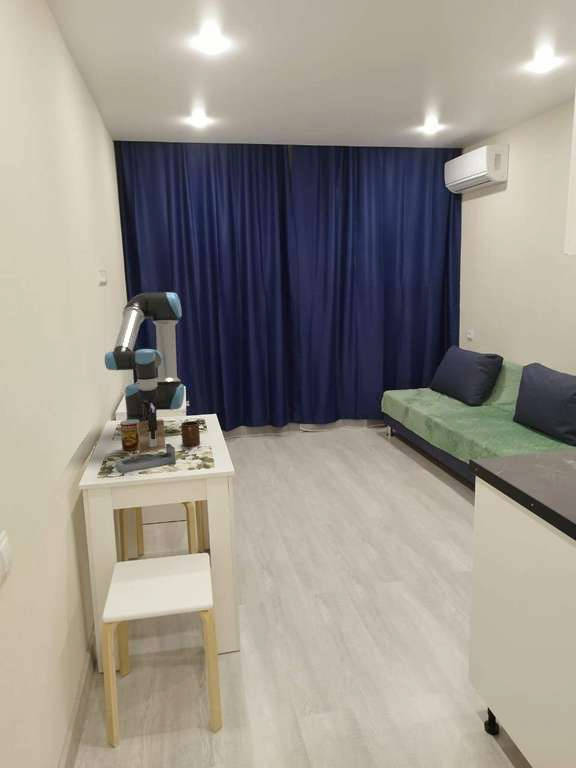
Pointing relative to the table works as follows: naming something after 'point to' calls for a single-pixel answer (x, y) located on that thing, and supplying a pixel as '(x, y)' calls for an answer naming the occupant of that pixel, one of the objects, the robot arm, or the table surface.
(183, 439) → the mug
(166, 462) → the track
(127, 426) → the canned food
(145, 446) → the door panel
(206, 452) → the table surface
